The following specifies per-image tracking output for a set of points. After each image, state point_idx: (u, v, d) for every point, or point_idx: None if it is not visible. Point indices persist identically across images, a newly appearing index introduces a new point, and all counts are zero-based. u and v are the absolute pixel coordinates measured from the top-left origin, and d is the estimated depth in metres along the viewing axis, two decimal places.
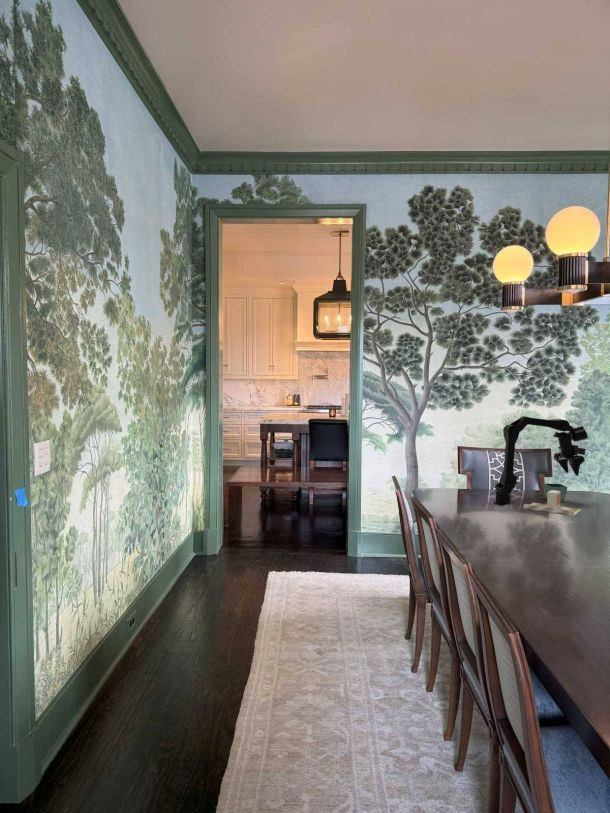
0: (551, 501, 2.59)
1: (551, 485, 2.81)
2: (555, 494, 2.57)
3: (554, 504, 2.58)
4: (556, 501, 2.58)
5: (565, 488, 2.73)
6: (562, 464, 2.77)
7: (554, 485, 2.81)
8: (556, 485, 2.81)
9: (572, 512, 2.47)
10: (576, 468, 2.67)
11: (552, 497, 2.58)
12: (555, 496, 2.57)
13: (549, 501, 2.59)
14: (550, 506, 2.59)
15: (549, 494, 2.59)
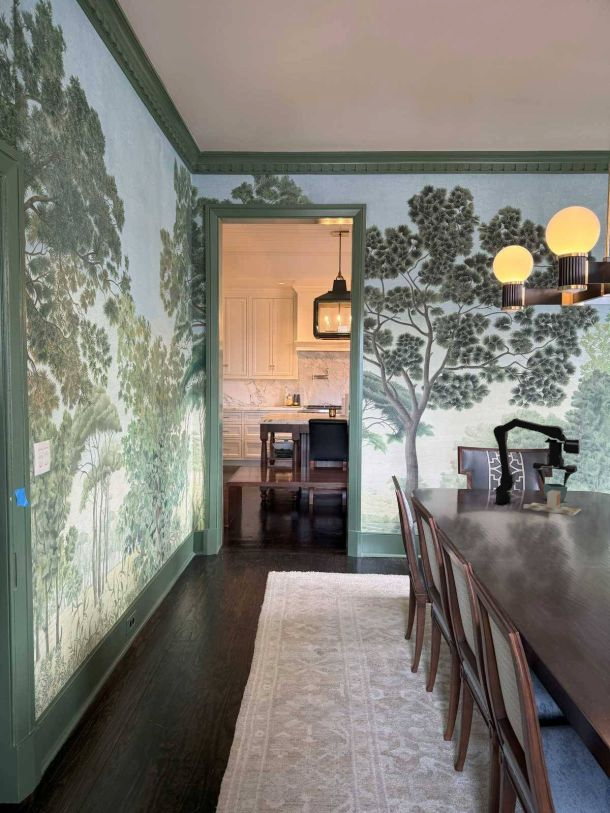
0: (551, 501, 2.59)
1: (551, 485, 2.81)
2: (555, 494, 2.57)
3: (554, 504, 2.58)
4: (556, 501, 2.58)
5: (565, 488, 2.73)
6: (542, 474, 2.63)
7: (554, 485, 2.81)
8: (556, 485, 2.81)
9: (572, 512, 2.47)
10: (567, 478, 2.57)
11: (552, 497, 2.58)
12: (555, 496, 2.57)
13: (549, 501, 2.59)
14: (550, 506, 2.59)
15: (549, 494, 2.59)
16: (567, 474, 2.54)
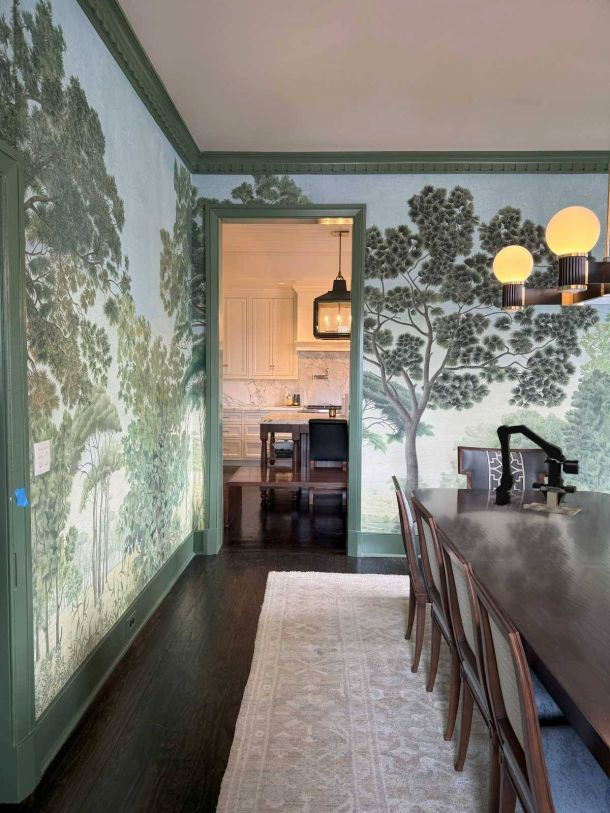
0: (551, 500, 2.59)
1: None
2: (555, 494, 2.57)
3: (554, 504, 2.58)
4: (556, 501, 2.58)
5: None
6: None
7: None
8: None
9: (572, 512, 2.47)
10: (561, 498, 2.59)
11: (552, 497, 2.58)
12: (555, 496, 2.57)
13: (549, 501, 2.59)
14: (550, 506, 2.59)
15: (549, 494, 2.59)
16: (561, 494, 2.56)
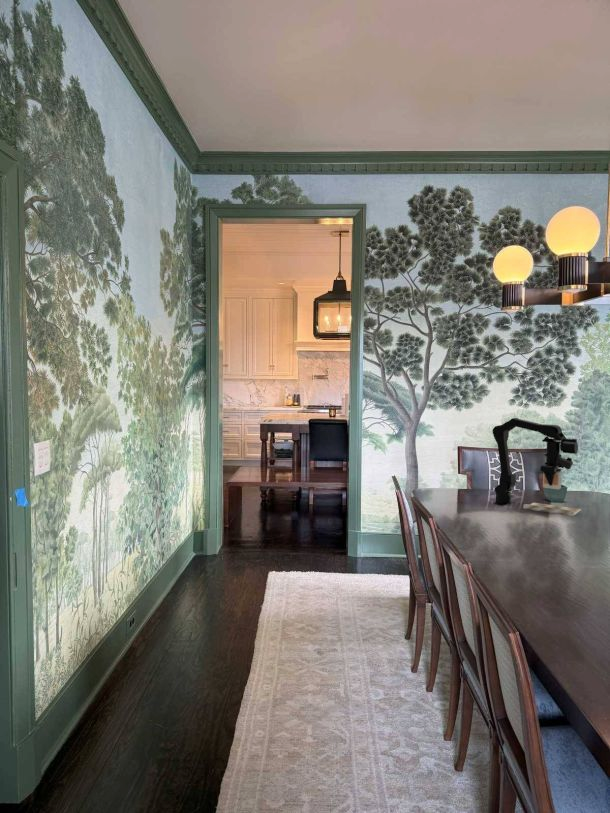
0: None
1: None
2: None
3: None
4: (544, 479, 2.58)
5: (565, 488, 2.73)
6: None
7: None
8: None
9: (572, 512, 2.47)
10: (549, 477, 2.55)
11: None
12: (543, 473, 2.58)
13: None
14: None
15: None
16: None
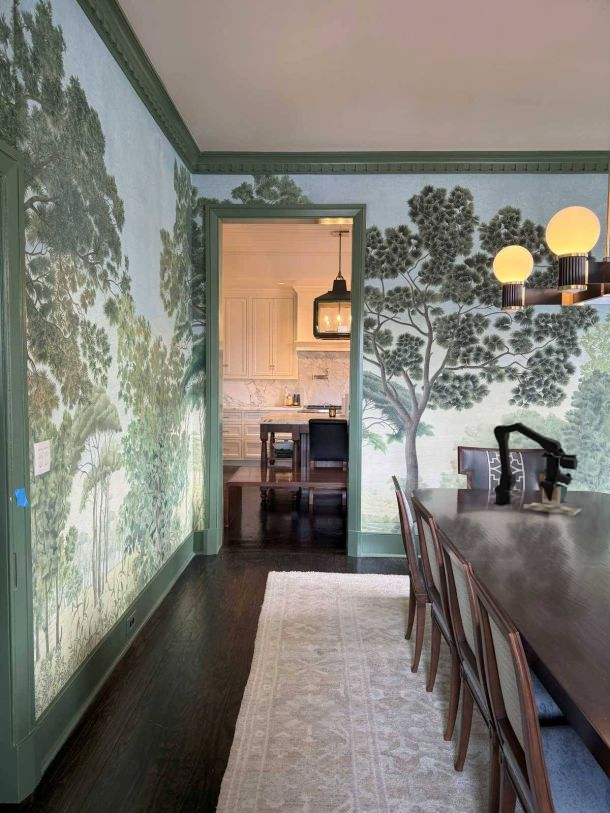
0: None
1: None
2: None
3: None
4: (543, 494, 2.58)
5: (565, 488, 2.73)
6: None
7: None
8: None
9: (572, 512, 2.47)
10: (549, 492, 2.55)
11: None
12: (543, 489, 2.59)
13: None
14: None
15: None
16: None
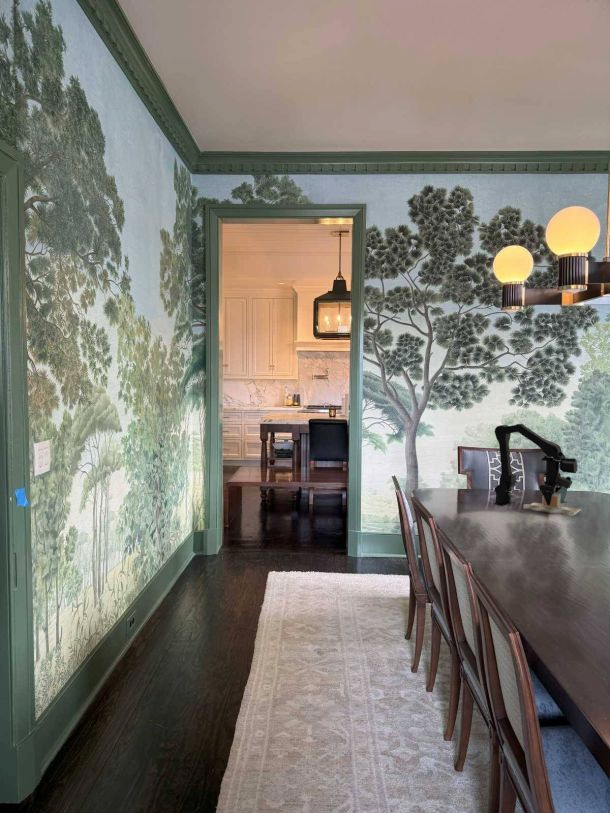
0: None
1: None
2: None
3: None
4: (543, 501, 2.58)
5: (565, 488, 2.73)
6: None
7: None
8: None
9: (572, 512, 2.47)
10: (547, 497, 2.54)
11: None
12: None
13: None
14: None
15: None
16: None
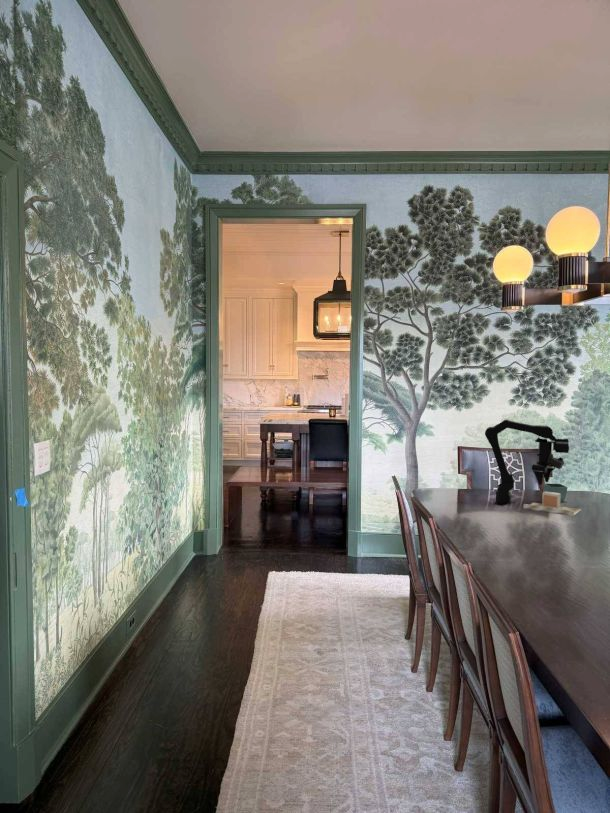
0: None
1: (551, 485, 2.81)
2: None
3: None
4: (543, 501, 2.58)
5: (565, 488, 2.73)
6: None
7: (554, 485, 2.81)
8: (556, 485, 2.81)
9: (572, 512, 2.47)
10: (539, 476, 2.62)
11: None
12: None
13: None
14: None
15: None
16: None
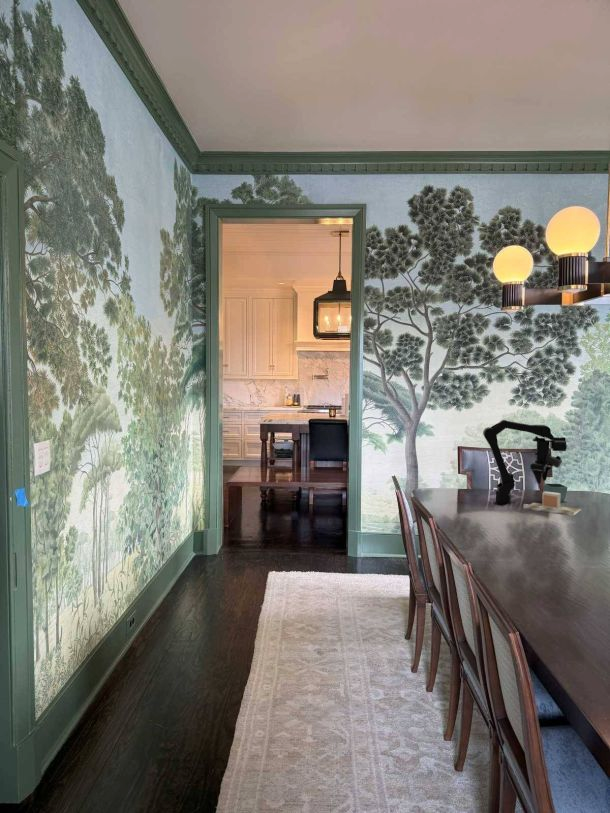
0: None
1: (551, 485, 2.81)
2: None
3: None
4: (543, 501, 2.58)
5: (565, 488, 2.73)
6: None
7: (554, 485, 2.81)
8: (556, 485, 2.81)
9: (572, 512, 2.47)
10: (538, 475, 2.64)
11: None
12: None
13: None
14: None
15: None
16: None
